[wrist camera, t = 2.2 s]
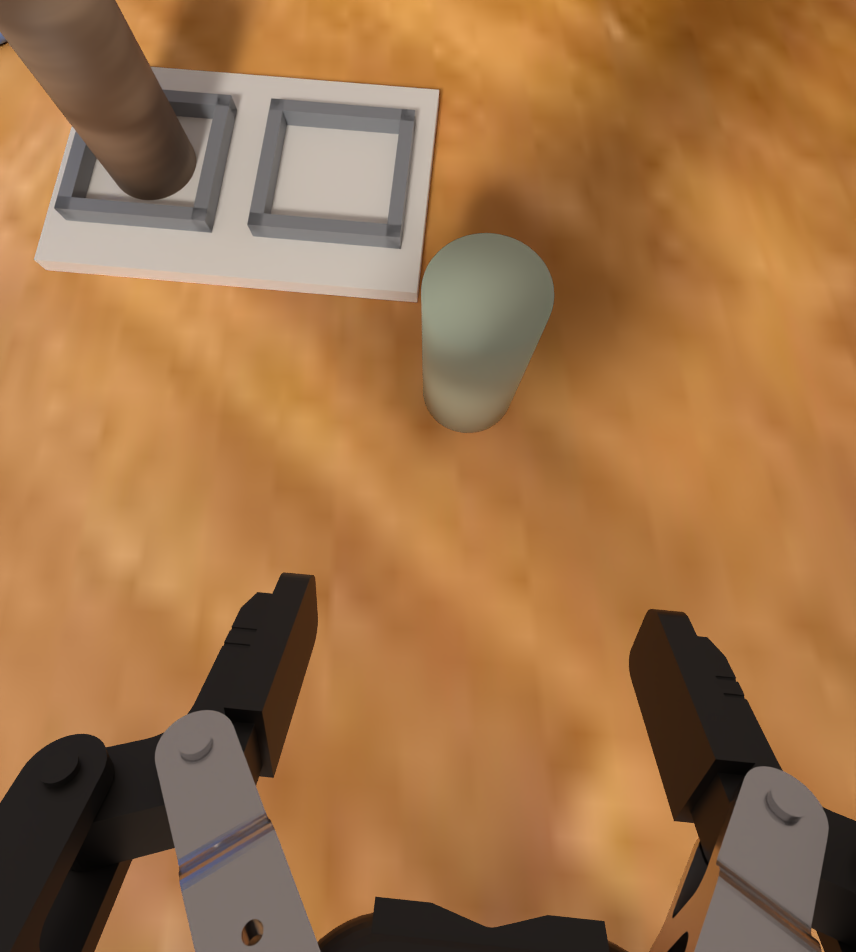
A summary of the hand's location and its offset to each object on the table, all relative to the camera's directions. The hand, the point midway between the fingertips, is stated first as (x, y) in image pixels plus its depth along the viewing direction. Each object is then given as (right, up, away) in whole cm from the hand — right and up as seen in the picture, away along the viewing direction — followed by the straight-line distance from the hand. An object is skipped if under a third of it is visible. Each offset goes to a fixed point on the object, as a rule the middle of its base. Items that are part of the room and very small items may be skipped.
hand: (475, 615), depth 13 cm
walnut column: (-18, +22, +19) cm, 34 cm away
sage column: (+1, +8, +17) cm, 19 cm away
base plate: (-12, +21, +20) cm, 31 cm away
